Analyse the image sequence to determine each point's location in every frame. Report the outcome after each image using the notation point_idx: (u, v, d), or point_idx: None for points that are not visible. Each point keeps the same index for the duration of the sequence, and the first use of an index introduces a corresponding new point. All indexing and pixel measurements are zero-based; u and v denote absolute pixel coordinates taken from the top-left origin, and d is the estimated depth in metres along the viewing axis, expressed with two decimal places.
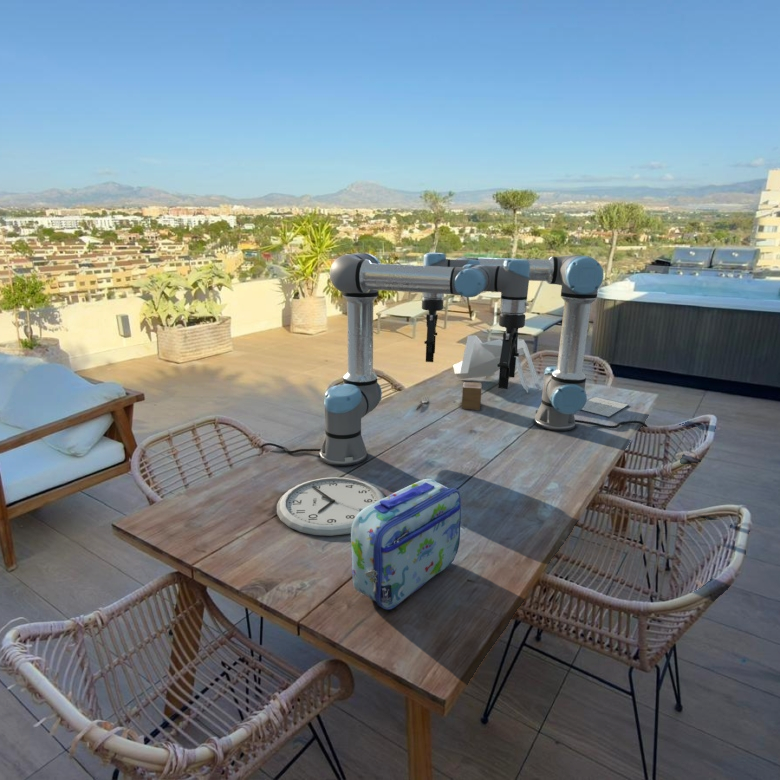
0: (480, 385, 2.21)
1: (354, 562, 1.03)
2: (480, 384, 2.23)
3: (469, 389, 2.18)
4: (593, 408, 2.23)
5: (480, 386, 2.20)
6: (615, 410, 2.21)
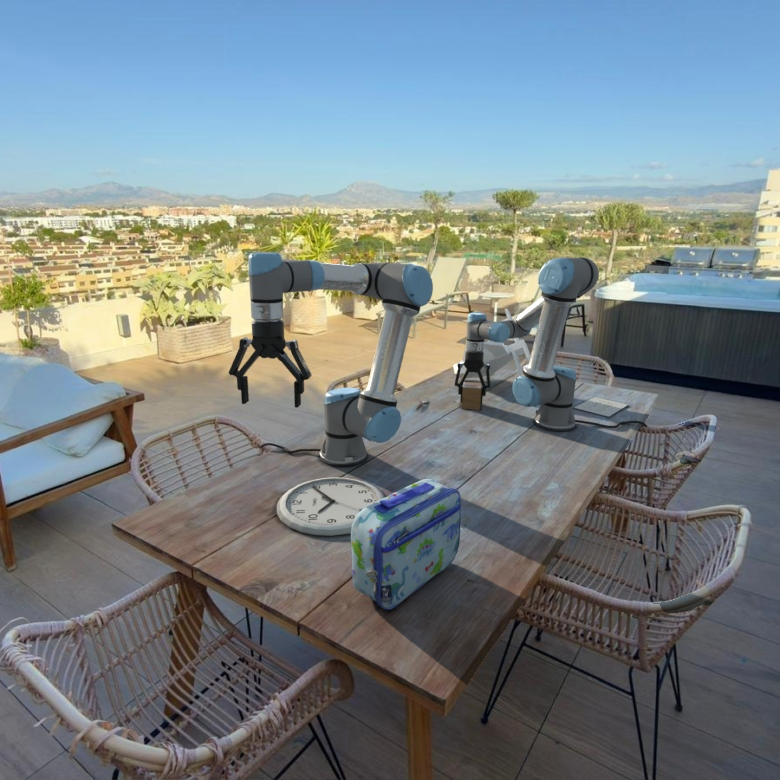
0: (480, 385, 2.21)
1: (354, 562, 1.03)
2: (480, 384, 2.23)
3: (469, 389, 2.18)
4: (593, 408, 2.23)
5: (480, 386, 2.20)
6: (615, 410, 2.21)
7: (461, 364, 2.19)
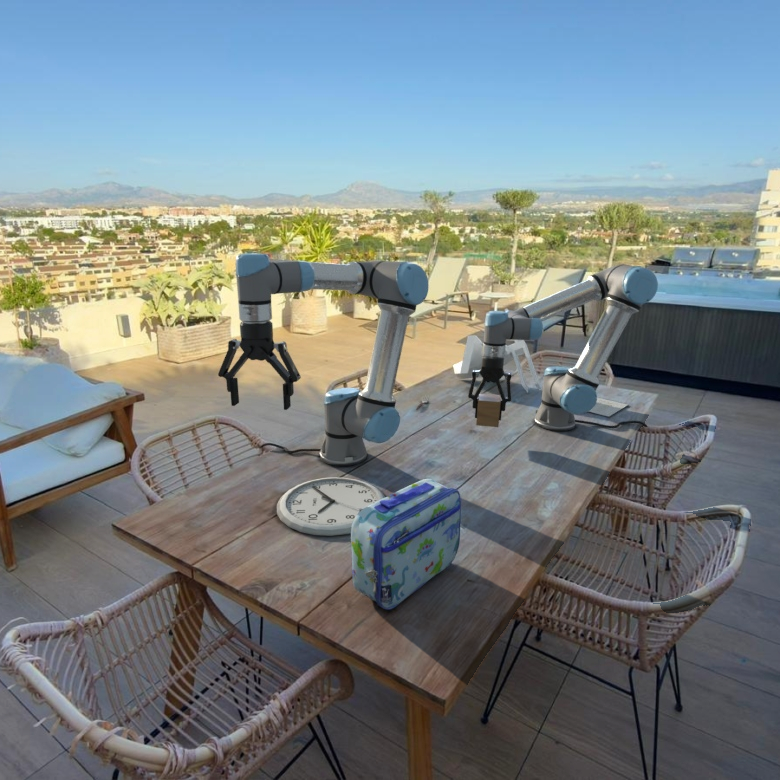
0: (499, 398, 1.85)
1: (354, 562, 1.03)
2: (499, 396, 1.87)
3: (486, 402, 1.82)
4: (593, 408, 2.23)
5: (499, 399, 1.84)
6: (615, 410, 2.21)
7: (477, 372, 1.83)
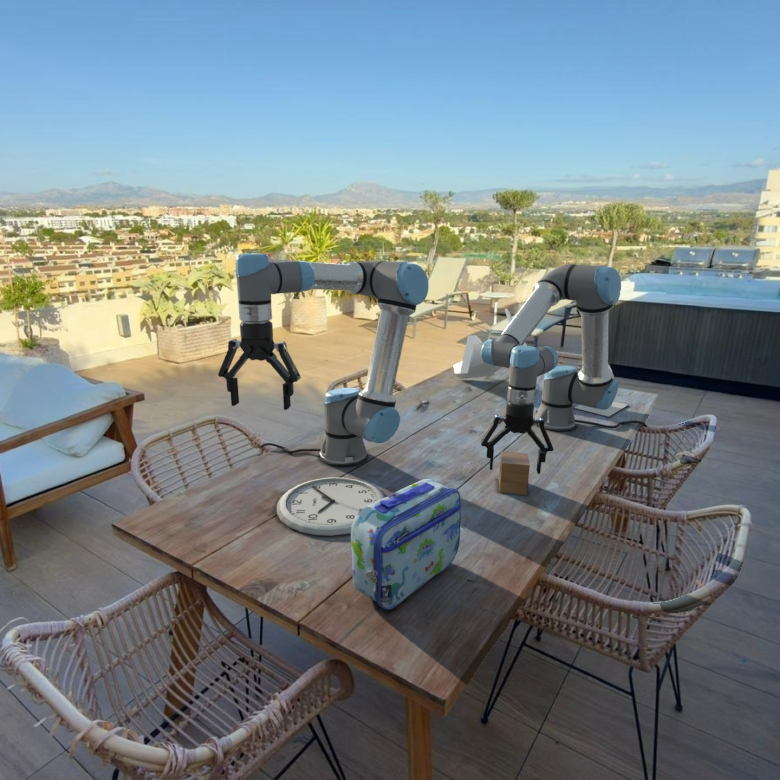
0: (527, 458, 1.52)
1: (354, 562, 1.03)
2: (526, 456, 1.53)
3: (511, 466, 1.48)
4: (593, 408, 2.23)
5: (527, 460, 1.50)
6: (615, 410, 2.21)
7: (500, 419, 1.49)
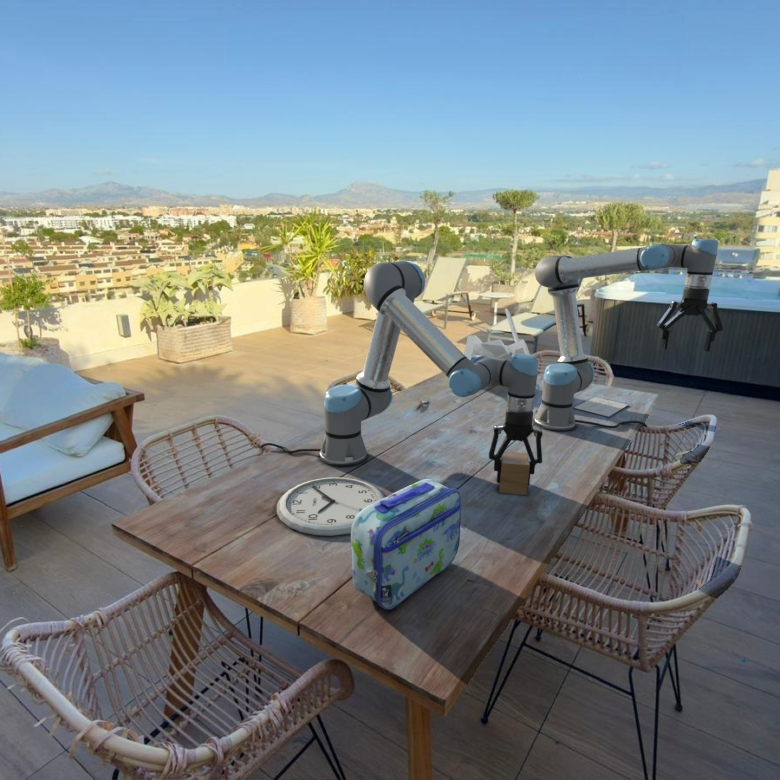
0: (527, 458, 1.52)
1: (354, 562, 1.03)
2: (526, 456, 1.53)
3: (511, 466, 1.48)
4: (593, 408, 2.23)
5: (527, 461, 1.50)
6: (615, 410, 2.21)
7: (677, 303, 1.76)
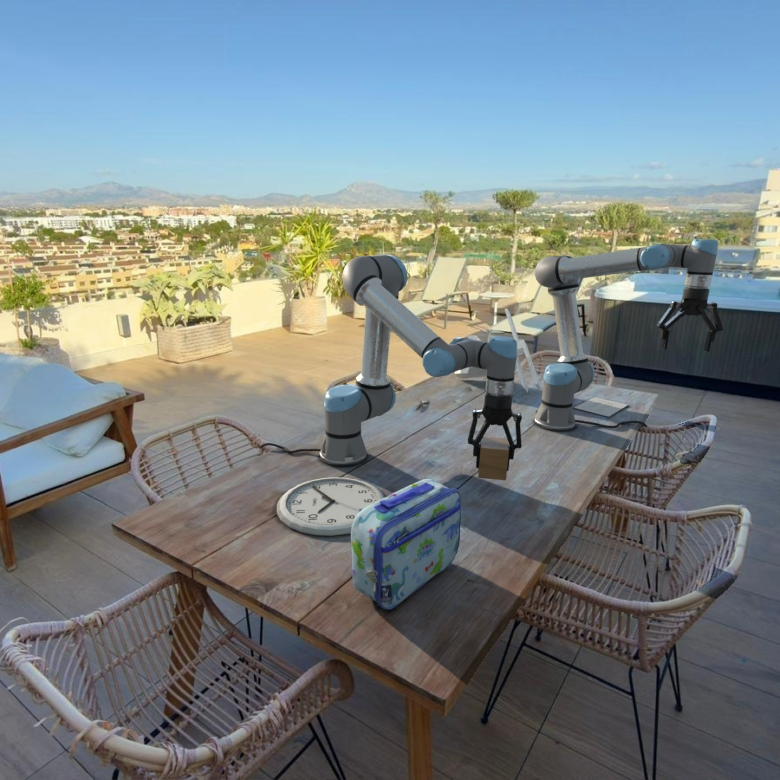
0: (506, 443, 1.49)
1: (354, 562, 1.03)
2: (506, 441, 1.50)
3: (490, 451, 1.46)
4: (593, 408, 2.23)
5: (506, 445, 1.48)
6: (615, 410, 2.21)
7: (677, 303, 1.76)
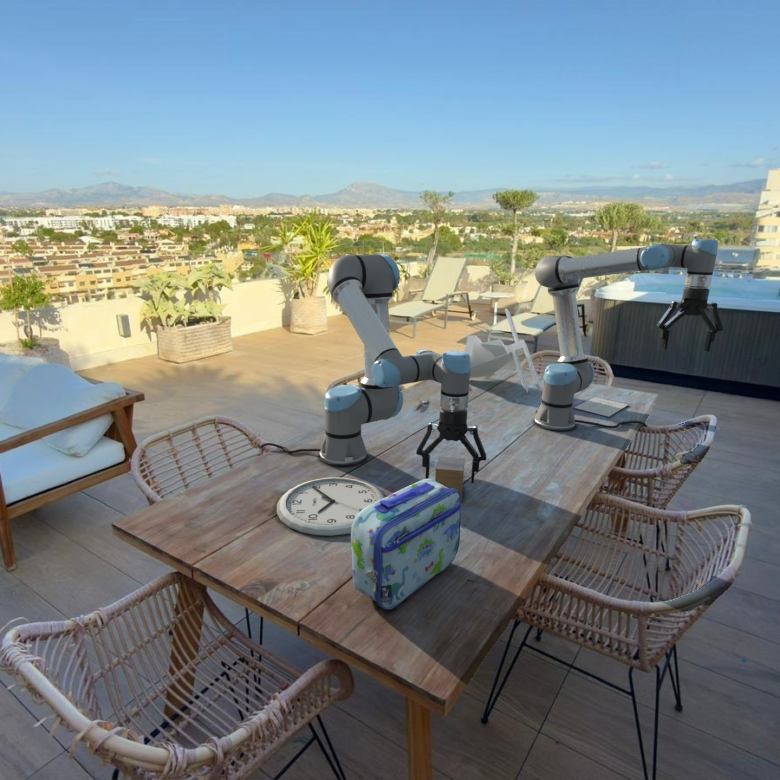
0: (462, 464, 1.47)
1: (354, 562, 1.03)
2: (462, 461, 1.49)
3: (445, 471, 1.44)
4: (593, 408, 2.23)
5: (462, 466, 1.46)
6: (615, 410, 2.21)
7: (677, 303, 1.76)
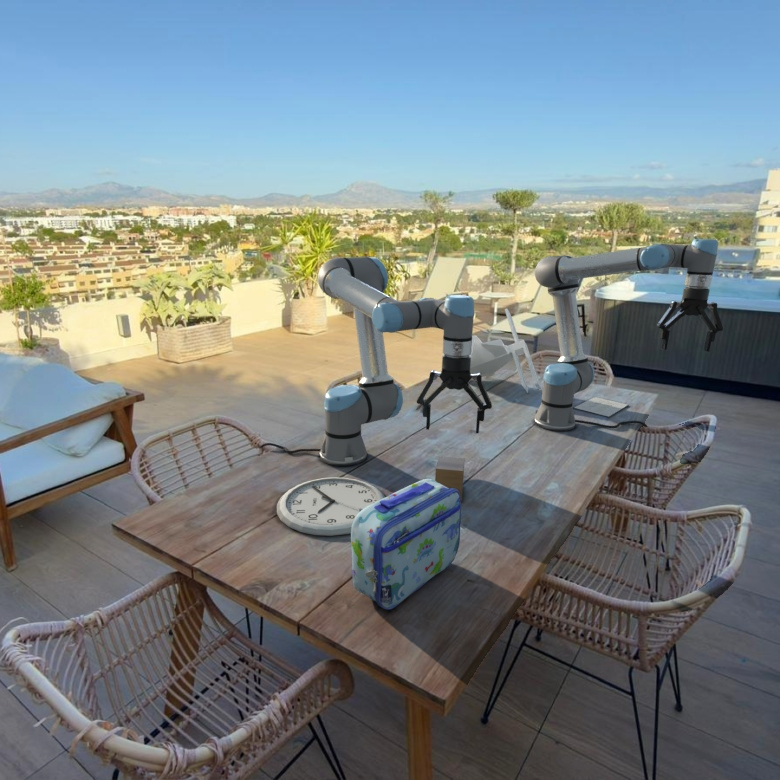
0: (462, 464, 1.47)
1: (354, 562, 1.03)
2: (462, 461, 1.49)
3: (445, 471, 1.44)
4: (593, 408, 2.23)
5: (462, 466, 1.46)
6: (615, 410, 2.21)
7: (677, 303, 1.76)
